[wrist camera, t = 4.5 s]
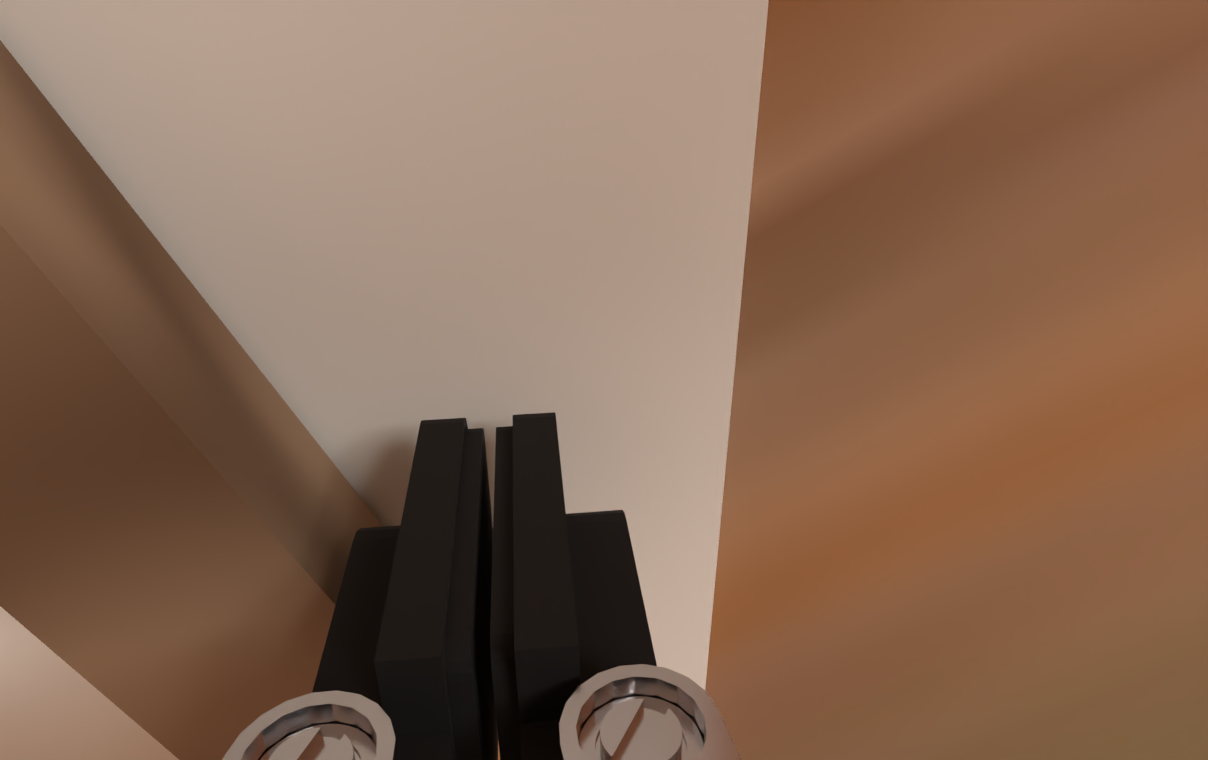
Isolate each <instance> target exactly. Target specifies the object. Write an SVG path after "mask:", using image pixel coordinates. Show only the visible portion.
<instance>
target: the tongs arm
mask: <svg viewBox="0 0 1208 760" xmlns="http://www.w3.org/2000/svg"><path fill="white" fill-rule="evenodd" d="M370 527H383V525H382V524H381V523H380V522H379V520H378V519H377V518H376V516H375V515H374V514H373V513H372V511H371V510H370V509H369V508H368V506H367V505H366V504H365V503H364V501H363V500H362V499H361V497H360V496H359V495H358V494H357V492H356V491H355V490H354V489H353V487H352V486H351V485H350V483H349V482H348V481H347V480H346V478H345V477H344V476H343V475H342V473H341V472H340V471H339V470H338V468H337V467H336V466H335V464H334V463H333V462H332V461H331V459H330V458H329V457H328V456H327V454H326V453H325V452H324V450H323V449H322V448H321V447H320V445H319V444H318V443H317V442H316V440H315V439H314V438H313V437H312V435H311V434H310V433H309V431H308V430H307V429H306V428H305V426H304V425H303V424H302V423H301V421H300V420H299V419H298V417H297V416H296V415H295V414H294V412H293V411H292V410H291V409H290V407H289V406H288V405H287V404H286V402H285V401H284V400H283V398H282V397H281V396H280V395H279V393H278V392H277V391H276V390H275V388H274V387H273V386H272V384H271V383H270V382H269V381H268V379H267V378H266V377H265V376H264V374H263V373H262V372H261V371H260V369H259V368H258V367H257V365H256V364H255V363H254V362H253V360H252V359H251V358H250V357H249V355H248V354H247V353H246V351H245V350H244V349H243V348H242V346H241V345H240V344H239V343H238V341H237V340H236V339H235V338H234V336H233V335H232V334H231V332H230V331H229V330H228V329H227V327H226V326H225V325H224V324H223V322H222V321H221V320H220V318H219V317H218V316H217V315H216V313H215V312H214V311H213V310H212V308H211V307H210V306H209V304H208V303H207V302H206V301H205V299H204V298H203V297H202V296H201V294H200V293H199V292H198V291H197V289H196V288H195V287H194V285H193V284H192V283H191V282H190V280H189V279H188V278H187V277H186V275H185V274H184V273H183V271H182V270H181V269H180V268H179V266H178V265H177V264H176V263H175V261H174V260H173V259H172V258H171V256H170V255H169V254H168V252H167V251H166V250H165V249H164V247H163V246H162V245H161V244H160V242H159V241H158V240H157V238H156V237H155V236H154V235H153V233H152V232H151V231H150V230H149V228H148V227H147V226H146V225H145V223H144V222H143V221H142V219H141V218H140V217H139V216H138V214H137V213H136V212H135V211H134V209H133V208H132V207H131V205H130V204H129V203H128V202H127V200H126V199H125V198H124V197H123V195H122V194H121V193H120V192H119V190H118V189H117V188H116V186H115V185H114V184H113V183H112V181H111V180H110V179H109V178H108V176H107V175H106V174H105V172H104V171H103V170H102V169H101V167H100V166H99V165H98V164H97V162H96V161H95V160H94V159H93V157H92V156H91V155H90V153H89V152H88V151H87V150H86V148H85V147H84V146H83V145H82V143H81V142H80V141H79V139H78V138H77V137H76V136H75V134H74V133H73V132H72V131H71V129H70V128H69V127H68V126H67V124H66V123H65V122H64V120H63V119H62V118H61V117H60V115H59V114H58V113H57V112H56V110H55V109H54V108H53V106H52V105H51V104H50V103H49V101H48V100H47V99H46V98H45V96H44V95H43V94H42V93H41V91H40V90H39V89H38V87H37V86H36V85H35V84H34V82H33V81H32V80H31V79H30V77H29V76H28V75H27V73H26V72H25V71H24V70H23V68H22V67H21V66H20V65H19V63H18V62H17V61H16V59H15V58H14V57H13V56H12V54H11V53H10V52H9V51H8V49H7V48H6V47H5V46H4V44H3V43H2V42H1V40H0V606H1V607H2V608H3V609H4V610H5V611H6V612H8V613H9V614H10V615H11V616H12V617H13V618H15V619H16V620H17V621H18V622H19V623H20V624H22V625H23V626H24V627H25V628H26V629H27V630H29V631H30V632H31V633H32V634H33V635H34V636H36V637H37V638H38V639H39V640H40V641H41V642H43V643H44V644H45V645H46V646H47V647H48V648H50V649H51V650H52V651H53V652H54V653H55V654H57V655H58V656H59V657H60V658H61V659H62V660H64V661H65V662H66V663H67V664H68V665H69V666H71V667H72V668H73V669H74V670H75V671H76V672H78V673H79V674H80V675H81V676H82V677H83V678H85V679H86V680H87V681H88V682H89V683H90V684H92V685H93V686H94V687H95V688H96V689H97V690H99V691H100V692H101V693H102V694H103V695H104V696H106V697H107V698H108V699H109V700H110V701H111V702H113V703H114V704H115V705H116V706H117V707H118V708H120V709H121V710H122V711H123V712H124V713H125V714H127V715H128V716H129V717H130V718H131V719H132V720H134V721H135V722H136V723H137V724H138V725H139V726H141V727H142V728H143V729H144V730H145V731H146V732H148V733H149V734H150V735H151V736H152V737H153V738H155V739H156V740H157V741H158V742H159V743H160V744H161V745H163V746H164V747H165V748H166V749H167V750H168V751H170V752H171V753H172V754H173V755H174V756H175V757H177V758H178V759H179V760H222V759H223V757H224V755H225V754H226V753H227V751H228V750H229V748H230V747H231V746H232V744H233V743H234V741H235V740H236V739H237V737H238V736H239V734H240V733H241V732H242V731H243V730H245V729H246V728H247V727H248V726H249V725H250V724H251V723H253V722H254V721H255V720H256V719H257V718H258V717H259V716H261V715H262V714H264V713H265V712H267V711H269V710H271V709H273V708H274V707H276V706H278V705H280V704H281V703H283V702H285V701H287V700H291V699H294V698H297V697H300V696H303V695H306V694H309V693H312V691H313V687H314V683H315V679H316V676H317V672H318V668H319V665H320V661H321V657H322V654H323V650H324V646H325V642H326V639H327V635H328V631H329V628H330V624H331V620H332V616H333V613H334V609H335V605H336V602H337V598H338V594H339V591H340V587H341V583H342V579H343V576H344V572H345V568H346V565H347V561H348V557H349V554H350V550H351V546H352V542H353V539H354V536H355V534H356V531H357V530H359V529H360V528H370ZM498 760H500V752H499V742H498Z"/></svg>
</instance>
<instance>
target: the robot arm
mask: <svg viewBox="0 0 1208 760" xmlns="http://www.w3.org/2000/svg"><path fill="white" fill-rule="evenodd" d="M498 742H499V752H500V760H742V758H741V756H740V754H739V752H738V750H737V747H736V745H735V743H734V741H733V739H732V737H731V735H730V733H729V730H728V728H727V726H726V724H725V722H724V720H723V718H722V716H721V713H720V711H719V709H718V708H717V706H716V705H715V704H714V702H713V701H712V699H711V698H710V696H709V695H708V693H707V692H706V691H705V690H704V689H703V688H701V687H700V686H699V685H697V684H696V683H695V682H694V681H692V680H691V679H690V678H689V677H687V676H684V675H682V674H680V673H677V672H675V671H673V670H670V669H668V668H664V667H658V666H657V664H656V659H655V654H654V649H653V645H652V640H651V635H650V630H649V625H648V621H647V616H646V611H645V606H644V601H643V597H642V592H641V587H640V582H639V578H638V573H637V568H636V563H635V558H634V554H633V549H632V544H631V539H630V535H629V530H628V525H627V520H626V516H625V513H624V511H623V510H612V511H597V512H583V513H569V514H566V511H565V501H564V492H563V482H562V472H561V462H560V452H559V443H558V433H557V423H556V414H555V412H552V413H535V414H518V415H513V426H507V427H496V444H495V479H494V514H493V523H492V512H491V501H490V490H489V479H488V468H487V456H486V445H485V435H484V429H483V428H475V429H468V426H467V420H466V418H452V419H435V420H422V421H421V423H420V427H419V432H418V437H417V442H416V448H415V453H414V458H413V463H412V468H411V473H410V479H409V484H408V489H407V494H406V499H405V505H404V510H403V515H402V520H401V525H399V526H385V527H370V528H360V529H359V530H357V531H356V534H355V536H354V539H353V542H352V546H351V550H350V554H349V557H348V561H347V565H346V568H345V572H344V576H343V579H342V583H341V587H340V591H339V594H338V598H337V602H336V605H335V609H334V613H333V616H332V620H331V624H330V628H329V631H328V635H327V639H326V642H325V646H324V650H323V654H322V657H321V661H320V665H319V668H318V672H317V676H316V679H315V683H314V687H313V691H312V693H309V694H306V695H303V696H300V697H297V698H294V699H291V700H287V701H285V702H283V703H281V704H280V705H278V706H276V707H274V708H273V709H271V710H269V711H267V712H265V713H264V714H262V715H261V716H259V717H258V718H257V719H256V720H255V721H254V722H253V723H251V724H250V725H249V726H248V727H247V728H246V729H245V730H243V731H242V732H241V733H240V734H239V736H238V737H237V739H236V740H235V741H234V743H233V744H232V746H231V747H230V748H229V750H228V751H227V753H226V754H225V755H224V757H223V759H222V760H498Z"/></svg>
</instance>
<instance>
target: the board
mask: <svg viewBox="0 0 1208 760" xmlns="http://www.w3.org/2000/svg"><path fill="white" fill-rule="evenodd" d="M768 2H769V0H0V40H1V42H2V43H3V44H4V46H5V47H6V48H7V49H8V51H9V52H10V53H11V54H12V56H13V57H14V58H15V59H16V61H17V62H18V63H19V65H20V66H21V67H22V68H23V70H24V71H25V72H26V73H27V75H28V76H29V77H30V79H31V80H32V81H33V82H34V84H35V85H36V86H37V87H38V89H39V90H40V91H41V93H42V94H43V95H44V96H45V98H46V99H47V100H48V101H49V103H50V104H51V105H52V106H53V108H54V109H55V110H56V112H57V113H58V114H59V115H60V117H61V118H62V119H63V120H64V122H65V123H66V124H67V126H68V127H69V128H70V129H71V131H72V132H73V133H74V134H75V136H76V137H77V138H78V139H79V141H80V142H81V143H82V145H83V146H84V147H85V148H86V150H87V151H88V152H89V153H90V155H91V156H92V157H93V159H94V160H95V161H96V162H97V164H98V165H99V166H100V167H101V169H102V170H103V171H104V172H105V174H106V175H107V176H108V178H109V179H110V180H111V181H112V183H113V184H114V185H115V186H116V188H117V189H118V190H119V192H120V193H121V194H122V195H123V197H124V198H125V199H126V200H127V202H128V203H129V204H130V205H131V207H132V208H133V209H134V211H135V212H136V213H137V214H138V216H139V217H140V218H141V219H142V221H143V222H144V223H145V225H146V226H147V227H148V228H149V230H150V231H151V232H152V233H153V235H154V236H155V237H156V238H157V240H158V241H159V242H160V244H161V245H162V246H163V247H164V249H165V250H166V251H167V252H168V254H169V255H170V256H171V258H172V259H173V260H174V261H175V263H176V264H177V265H178V266H179V268H180V269H181V270H182V271H183V273H184V274H185V275H186V277H187V278H188V279H189V280H190V282H191V283H192V284H193V285H194V287H195V288H196V289H197V291H198V292H199V293H200V294H201V296H202V297H203V298H204V299H205V301H206V302H207V303H208V304H209V306H210V307H211V308H212V310H213V311H214V312H215V313H216V315H217V316H218V317H219V318H220V320H221V321H222V322H223V324H224V325H225V326H226V327H227V329H228V330H229V331H230V332H231V334H232V335H233V336H234V338H235V339H236V340H237V341H238V343H239V344H240V345H241V346H242V348H243V349H244V350H245V351H246V353H247V354H248V355H249V357H250V358H251V359H252V360H253V362H254V363H255V364H256V365H257V367H258V368H259V369H260V371H261V372H262V373H263V374H264V376H265V377H266V378H267V379H268V381H269V382H270V383H271V384H272V386H273V387H274V388H275V390H276V391H277V392H278V393H279V395H280V396H281V397H282V398H283V400H284V401H285V402H286V404H287V405H288V406H289V407H290V409H291V410H292V411H293V412H294V414H295V415H296V416H297V417H298V419H299V420H300V421H301V423H302V424H303V425H304V426H305V428H306V429H307V430H308V431H309V433H310V434H311V435H312V437H313V438H314V439H315V440H316V442H317V443H318V444H319V445H320V447H321V448H322V449H323V450H324V452H325V453H326V454H327V456H328V457H329V458H330V459H331V461H332V462H333V463H334V464H335V466H336V467H337V468H338V470H339V471H340V472H341V473H342V475H343V476H344V477H345V478H346V480H347V481H348V482H349V483H350V485H351V486H352V487H353V489H354V490H355V491H356V492H357V494H358V495H359V496H360V497H361V499H362V500H363V501H364V503H365V504H366V505H367V506H368V508H369V509H370V510H371V511H372V513H373V514H374V515H375V516H376V518H377V519H378V520H379V522H380V523H381V524H382V525H383V527H385V526H399V525H401V520H402V515H403V510H404V505H405V499H406V494H407V489H408V484H409V479H410V473H411V468H412V463H413V458H414V453H415V448H416V442H417V437H418V432H419V427H420V423H421V421H422V420H435V419H452V418H466V420H467V426H468V429H475V428H483V429H484V435H485V445H486V456H487V468H488V479H489V490H490V501H491V512H492V523H493V514H494V479H495V444H496V427H507V426H513V415H518V414H535V413H552V412H555V414H556V423H557V433H558V443H559V452H560V462H561V472H562V482H563V492H564V501H565V511H566V514H569V513H583V512H597V511H612V510H623V511H624V513H625V516H626V520H627V525H628V530H629V535H630V539H631V544H632V549H633V554H634V558H635V563H636V568H637V573H638V578H639V582H640V587H641V592H642V597H643V601H644V606H645V611H646V616H647V621H648V625H649V630H650V635H651V640H652V645H653V649H654V654H655V659H656V664H657V666H658V667H664V668H668V669H670V670H673V671H675V672H677V673H680V674H682V675H684V676H687V677H689V678H690V679H691V680H692V681H694V682H695V683H696V684H697V685H699V686H700V687H701V688H703V689H704V690H705V684H706V674H707V663H708V652H709V641H710V630H711V619H712V609H713V598H714V587H715V576H716V565H717V554H718V544H719V533H720V522H721V511H722V500H723V490H724V479H725V468H726V457H727V446H728V435H729V425H730V414H731V403H732V392H733V381H734V370H735V360H736V349H737V338H738V327H739V316H740V306H741V295H742V284H743V273H744V262H745V251H746V241H747V230H748V219H749V208H750V197H751V186H752V176H753V165H754V154H755V143H756V132H757V122H758V111H759V100H760V89H761V78H762V67H763V57H764V46H765V35H766V24H767V13H768ZM0 760H179V759H178V758H177V757H175V756H174V755H173V754H172V753H171V752H170V751H168V750H167V749H166V748H165V747H164V746H163V745H161V744H160V743H159V742H158V741H157V740H156V739H155V738H153V737H152V736H151V735H150V734H149V733H148V732H146V731H145V730H144V729H143V728H142V727H141V726H139V725H138V724H137V723H136V722H135V721H134V720H132V719H131V718H130V717H129V716H128V715H127V714H125V713H124V712H123V711H122V710H121V709H120V708H118V707H117V706H116V705H115V704H114V703H113V702H111V701H110V700H109V699H108V698H107V697H106V696H104V695H103V694H102V693H101V692H100V691H99V690H97V689H96V688H95V687H94V686H93V685H92V684H90V683H89V682H88V681H87V680H86V679H85V678H83V677H82V676H81V675H80V674H79V673H78V672H76V671H75V670H74V669H73V668H72V667H71V666H69V665H68V664H67V663H66V662H65V661H64V660H62V659H61V658H60V657H59V656H58V655H57V654H55V653H54V652H53V651H52V650H51V649H50V648H48V647H47V646H46V645H45V644H44V643H43V642H41V641H40V640H39V639H38V638H37V637H36V636H34V635H33V634H32V633H31V632H30V631H29V630H27V629H26V628H25V627H24V626H23V625H22V624H20V623H19V622H18V621H17V620H16V619H15V618H13V617H12V616H11V615H10V614H9V613H8V612H6V611H5V610H4V609H3V608H2V607H1V606H0Z"/></svg>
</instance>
